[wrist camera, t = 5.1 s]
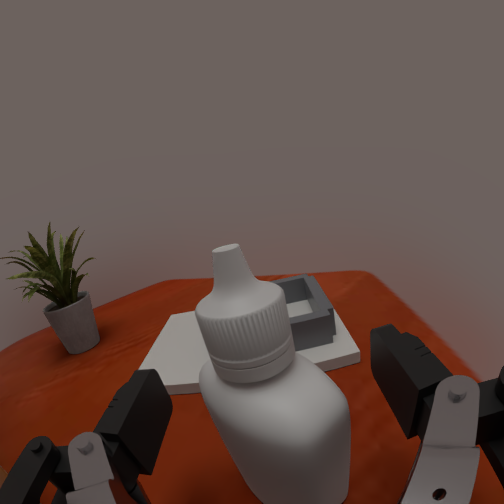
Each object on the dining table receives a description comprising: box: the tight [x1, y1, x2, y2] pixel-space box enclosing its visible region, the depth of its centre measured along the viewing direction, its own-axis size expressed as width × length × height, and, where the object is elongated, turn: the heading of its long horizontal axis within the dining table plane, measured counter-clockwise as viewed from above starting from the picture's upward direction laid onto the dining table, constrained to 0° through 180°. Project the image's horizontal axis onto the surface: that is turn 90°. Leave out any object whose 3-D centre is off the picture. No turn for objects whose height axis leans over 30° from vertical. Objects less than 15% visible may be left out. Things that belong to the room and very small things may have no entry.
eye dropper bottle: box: [195, 244, 351, 504], centre depth 8 cm, size 4×6×12 cm
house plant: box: [0, 223, 100, 354], centre depth 29 cm, size 14×14×16 cm
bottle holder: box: [139, 274, 360, 395], centre depth 25 cm, size 18×14×4 cm
